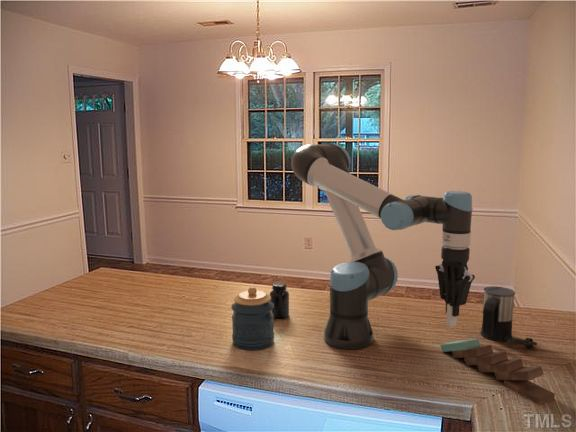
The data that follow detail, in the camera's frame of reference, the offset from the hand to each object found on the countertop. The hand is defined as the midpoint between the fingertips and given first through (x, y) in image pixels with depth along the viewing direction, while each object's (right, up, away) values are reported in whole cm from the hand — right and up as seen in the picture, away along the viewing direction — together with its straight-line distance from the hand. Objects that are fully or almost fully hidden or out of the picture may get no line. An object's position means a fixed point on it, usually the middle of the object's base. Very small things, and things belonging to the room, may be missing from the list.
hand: (451, 325), depth 139 cm
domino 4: (+6, -9, -10) cm, 14 cm away
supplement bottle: (-51, -4, +29) cm, 58 cm away
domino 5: (+8, -9, -14) cm, 19 cm away
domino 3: (+4, -8, -6) cm, 11 cm away
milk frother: (+20, -7, +8) cm, 23 cm away
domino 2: (+2, -7, -2) cm, 8 cm away
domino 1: (0, -7, +2) cm, 7 cm away
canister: (-58, -7, +9) cm, 59 cm away
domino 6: (+9, -10, -17) cm, 22 cm away
